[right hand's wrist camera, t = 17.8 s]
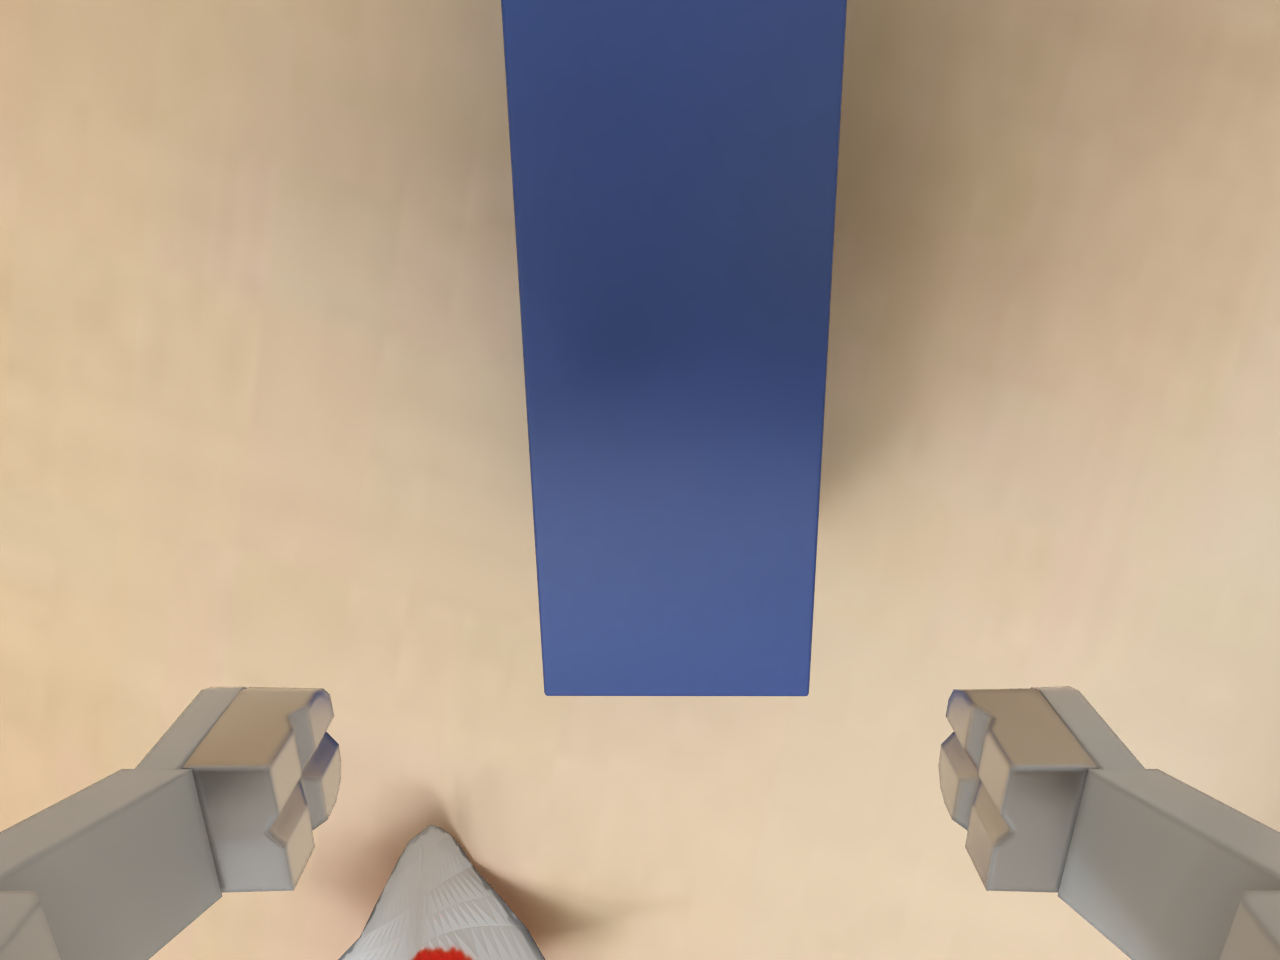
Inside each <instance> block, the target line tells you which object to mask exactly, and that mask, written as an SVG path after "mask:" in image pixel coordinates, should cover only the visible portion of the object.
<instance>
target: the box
mask: <svg viewBox="0 0 1280 960" xmlns="http://www.w3.org/2000/svg"><path fill="white" fill-rule="evenodd" d="M501 6H502V22H503V38H504V54H505V70H506V86H507V102H508V118H509V134H510V150H511V166H512V182H513V198H514V214H515V230H516V246H517V262H518V278H519V294H520V310H521V325H522V341H523V357H524V373H525V389H526V405H527V421H528V437H529V453H530V469H531V485H532V501H533V517H534V533H535V549H536V565H537V581H538V597H539V613H540V629H541V645H542V661H543V677H544V692H545V695H547V696H808V693H809V681H810V662H811V644H812V626H813V608H814V590H815V572H816V553H817V535H818V517H819V499H820V481H821V463H822V444H823V426H824V408H825V390H826V372H827V353H828V335H829V317H830V299H831V281H832V263H833V244H834V226H835V208H836V190H837V172H838V154H839V135H840V117H841V99H842V81H843V63H844V45H845V26H846V8H847V0H501Z"/></svg>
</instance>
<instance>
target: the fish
mask: <svg viewBox="0 0 1280 960" xmlns="http://www.w3.org/2000/svg"><path fill="white" fill-rule="evenodd" d="M338 960H545V959H544V957H543V955H542V954H541V952H540V950H539V948H538V947H537V945H536V943H535V941H534V940H533V938H532V936H531V934H530V933H529V931H528V929H527V928H526V927H525V926H524V924H523V923H522V922H521V921H520V920H519V918H518V917H517V916H516V915H515V914H514V913H513V911H512V910H511V909H510V908H509V907H508V906H507V904H506V903H505V902H504V901H503V900H502V898H501V897H500V896H499V895H498V894H497V893H496V892H495V890H494V889H493V888H492V887H491V886H490V885H489V884H488V883H487V881H486V880H485V879H484V878H483V877H482V876H481V875H480V873H479V872H478V871H477V870H476V869H475V868H474V867H473V865H472V864H471V862H470V861H469V859H468V857H467V856H466V854H465V853H464V851H463V849H462V848H461V847H460V846H459V844H458V843H457V842H456V841H455V840H454V839H453V837H452V836H451V835H450V834H449V833H448V832H446V831H445V830H443V829H442V828H440V827H437V826H433V825H430V826H428V827H427V828H426V829H425V830H423V831H422V832H421V833H419V834H418V835H417V836H415V837H414V838H413V839H411V840H410V841H409V843H408V845H407V846H406V848H405V850H404V851H403V853H402V855H401V856H400V858H399V860H398V862H397V864H396V866H395V868H394V870H393V872H392V874H391V876H390V878H389V880H388V882H387V884H386V886H385V888H384V890H383V892H382V894H381V895H380V897H379V899H378V901H377V903H376V905H375V907H374V909H373V911H372V913H371V915H370V917H369V919H368V921H367V924H366V926H365V928H364V930H363V932H362V934H361V936H360V938H359V939H358V940H357V941H356V942H355V943H354V944H353V945H352V946H351V947H350V948H349V949H348V950H347V951H346V952H345V953H344V954H343V955H342V956H341V957H340V958H339V959H338Z"/></svg>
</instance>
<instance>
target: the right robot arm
mask: <svg viewBox="0 0 1280 960" xmlns="http://www.w3.org/2000/svg"><path fill="white" fill-rule="evenodd" d="M333 717H334V713H333V708H332V703H331V698H330V694H329V693H327V692H326V691H325V690H324V689H317V688H271V687H249V688H246V687H210V688H207V689H204V690H201V691H200V693H199V694H198V695H197V696H196V697H195V698H194V700H193V701H192V702H191V703H190V704H189V705H188V707H187V708H186V709H185V710H184V711H183V712H182V714H181V715H180V716H179V717H178V718H177V720H176V721H175V722H174V723H173V724H172V725H171V727H170V728H169V729H168V730H167V731H166V733H165V734H164V735H163V736H162V737H161V738H160V740H159V741H158V742H157V743H156V744H155V746H154V747H153V748H152V749H151V750H150V751H149V753H148V754H147V755H146V756H145V757H144V759H143V760H142V761H141V762H140V763H139V764H138V766H137V767H136V768H135V769H121V770H119V771H118V772H116V773H114V774H112V775H110V776H108V777H106V778H104V779H102V780H100V781H98V782H96V783H94V784H93V785H91V786H89V787H87V788H85V789H83V790H81V791H79V792H77V793H75V794H73V795H71V796H69V797H67V798H66V799H64V800H62V801H60V802H58V803H56V804H54V805H52V806H50V807H48V808H46V809H44V810H42V811H41V812H39V813H37V814H35V815H33V816H31V817H29V818H27V819H25V820H23V821H21V822H19V823H17V824H15V825H14V826H12V827H10V828H8V829H6V830H4V831H2V832H0V960H148V959H150V958H151V957H152V956H153V955H154V954H155V953H157V952H158V951H159V950H160V949H161V948H162V947H164V946H165V945H166V944H167V943H168V942H169V941H171V940H172V939H173V938H174V937H175V936H176V935H178V934H179V933H180V932H181V931H182V930H183V929H185V928H186V927H187V926H188V925H189V924H190V923H192V922H193V921H194V920H195V919H196V918H197V917H199V916H200V915H201V914H202V913H203V912H204V911H206V910H207V909H208V908H209V907H210V906H211V905H213V904H214V903H215V902H216V901H217V900H218V899H220V898H221V897H222V893H221V892H253V891H287V890H294V889H295V887H296V884H297V882H298V880H299V878H300V876H301V874H302V872H303V870H304V868H305V866H306V864H307V862H308V860H309V858H310V856H311V854H312V852H313V849H314V847H315V845H314V839H313V834H312V830H314V829H315V828H317V827H318V826H319V825H321V824H322V823H323V822H325V821H326V820H328V818H329V816H330V814H331V811H332V809H333V807H334V805H335V803H336V799H337V794H338V790H339V785H340V780H341V756H340V750H339V744H338V743H337V742H336V741H335V740H334V739H333V738H332V737H331V736H330V735H329V734H328V733H327V732H326V730H327V728H328V726H329V725H330V723H331V721H332V719H333ZM946 717H947V719H948V721H949V723H950V725H951V726H952V728H953V730H954V732H953V733H952V734H951V735H950V736H949V737H948V738H947V739H946V740H945V741H944V742H943V743H942V744H941V750H940V759H939V777H940V788H941V791H942V795H943V799H944V802H945V805H946V807H947V809H948V812H949V814H950V816H951V818H952V820H954V821H955V822H957V823H958V824H959V825H961V826H962V827H963V828H965V829H966V830H968V833H967V839H966V845H965V847H966V850H967V852H968V854H969V856H970V858H971V860H972V862H973V864H974V866H975V868H976V870H977V872H978V874H979V876H980V878H981V880H982V882H983V884H984V886H985V888H986V890H990V891H1026V892H1058V897H1060V898H1061V899H1062V900H1063V901H1064V902H1065V903H1067V904H1068V905H1069V906H1070V907H1071V908H1072V909H1074V910H1075V911H1076V912H1077V913H1078V914H1079V915H1081V916H1082V917H1083V918H1084V919H1085V920H1086V921H1088V922H1089V923H1090V924H1091V925H1092V926H1093V927H1095V928H1096V929H1097V930H1098V931H1099V932H1100V933H1102V934H1103V935H1104V936H1105V937H1106V938H1107V939H1109V940H1110V941H1111V942H1112V943H1113V944H1114V945H1115V946H1117V947H1118V948H1119V949H1120V950H1121V951H1122V952H1124V953H1125V954H1126V955H1127V956H1128V957H1129V958H1131V959H1132V960H1280V832H1278V831H1276V830H1274V829H1272V828H1270V827H1268V826H1266V825H1264V824H1262V823H1260V822H1258V821H1257V820H1255V819H1253V818H1251V817H1249V816H1247V815H1245V814H1243V813H1241V812H1239V811H1237V810H1235V809H1233V808H1232V807H1230V806H1228V805H1226V804H1224V803H1222V802H1220V801H1218V800H1216V799H1214V798H1212V797H1210V796H1209V795H1207V794H1205V793H1203V792H1201V791H1199V790H1197V789H1195V788H1193V787H1191V786H1189V785H1187V784H1185V783H1184V782H1182V781H1180V780H1178V779H1176V778H1174V777H1172V776H1170V775H1168V774H1166V773H1164V772H1162V771H1161V770H1159V769H1145V768H1144V767H1143V766H1142V764H1141V763H1140V762H1139V761H1138V760H1137V759H1136V757H1135V756H1134V755H1133V754H1132V753H1131V751H1130V750H1129V749H1128V748H1127V747H1126V746H1125V744H1124V743H1123V742H1122V741H1121V740H1120V739H1119V737H1118V736H1117V735H1116V734H1115V733H1114V731H1113V730H1112V729H1111V728H1110V727H1109V726H1108V724H1107V723H1106V722H1105V721H1104V720H1103V719H1102V717H1101V716H1100V715H1099V714H1098V713H1097V711H1096V710H1095V709H1094V708H1093V707H1092V706H1091V704H1090V703H1089V702H1088V701H1087V700H1086V698H1085V697H1084V696H1083V695H1082V694H1081V693H1080V691H1078V690H1076V689H1074V688H1072V687H1070V686H1066V687H1035V688H1030V689H958V690H953V692H952V694H951V696H950V698H949V701H948V707H947V712H946Z"/></svg>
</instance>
